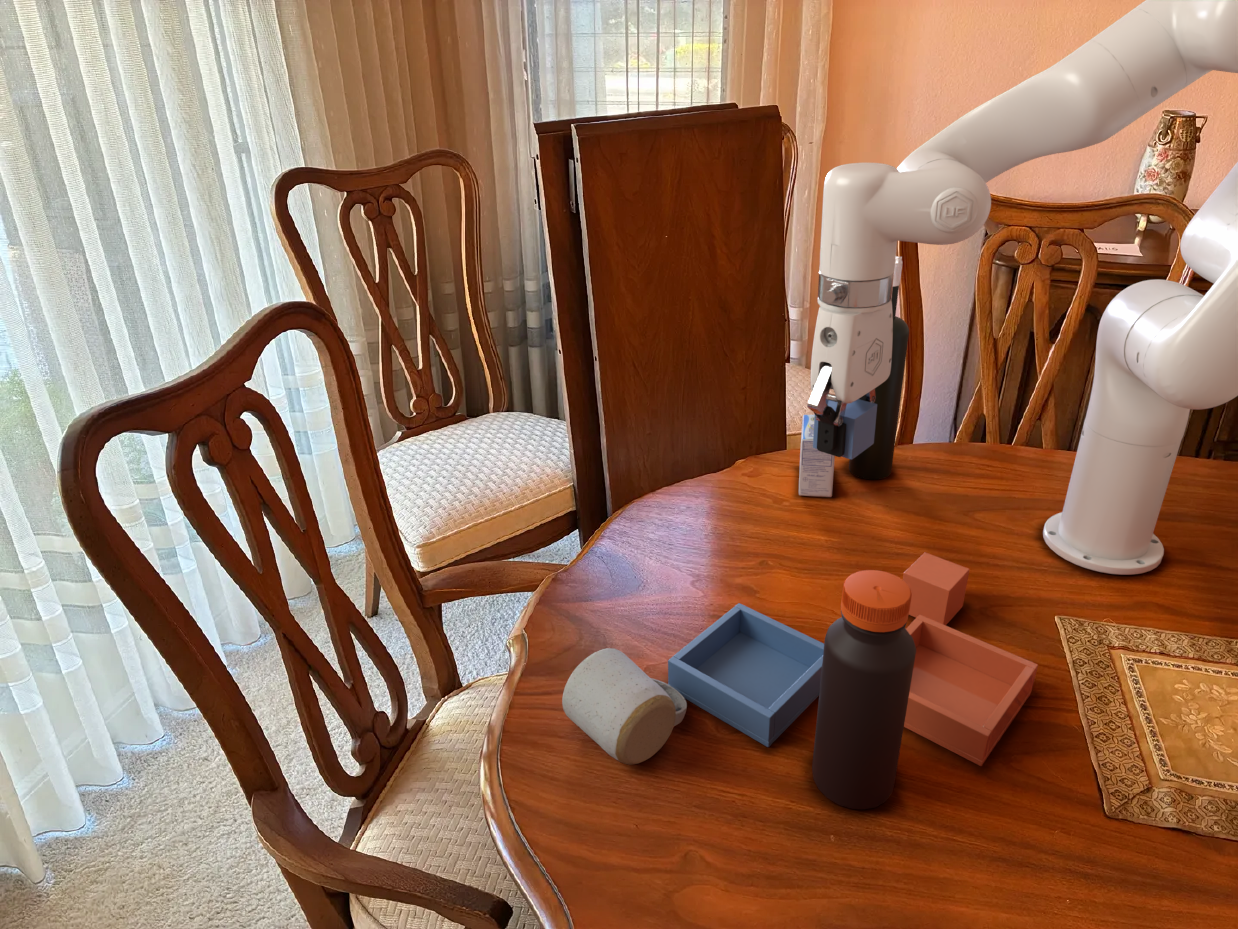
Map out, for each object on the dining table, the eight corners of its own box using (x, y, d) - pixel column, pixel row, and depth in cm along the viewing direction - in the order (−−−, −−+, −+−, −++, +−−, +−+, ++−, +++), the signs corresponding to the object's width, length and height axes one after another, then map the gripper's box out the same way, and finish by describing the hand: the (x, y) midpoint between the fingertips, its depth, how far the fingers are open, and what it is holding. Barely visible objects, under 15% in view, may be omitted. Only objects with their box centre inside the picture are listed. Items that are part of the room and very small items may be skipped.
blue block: (835, 432, 101) (837, 393, 99) (873, 443, 98) (877, 403, 96) (812, 447, 98) (814, 408, 96) (851, 460, 95) (854, 419, 93)
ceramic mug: (620, 787, 73) (618, 719, 69) (562, 733, 79) (557, 668, 75) (707, 725, 79) (709, 661, 75) (647, 680, 85) (647, 618, 81)
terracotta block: (918, 589, 96) (924, 551, 93) (962, 606, 93) (969, 568, 90) (898, 610, 93) (903, 572, 90) (942, 629, 90) (949, 590, 87)
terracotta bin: (914, 642, 88) (919, 614, 86) (1031, 693, 81) (1038, 664, 79) (858, 704, 81) (862, 674, 79) (981, 767, 74) (988, 736, 72)
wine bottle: (899, 476, 118) (927, 260, 104) (860, 482, 117) (884, 265, 103) (878, 458, 123) (903, 249, 109) (841, 463, 122) (861, 254, 108)
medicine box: (831, 499, 114) (837, 440, 110) (797, 496, 115) (801, 438, 110) (831, 470, 120) (835, 414, 116) (798, 468, 121) (802, 413, 117)
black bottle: (910, 797, 71) (945, 603, 62) (840, 823, 69) (865, 626, 60) (862, 739, 77) (887, 554, 67) (796, 762, 75) (812, 574, 65)
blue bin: (737, 629, 91) (738, 602, 89) (835, 679, 84) (838, 650, 82) (667, 688, 83) (667, 660, 82) (768, 747, 76) (770, 718, 75)
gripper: (845, 317, 82) (833, 482, 90) (926, 274, 93) (909, 426, 101) (778, 304, 87) (773, 462, 95) (863, 264, 97) (852, 410, 106)
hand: (843, 442), depth 98 cm, fingers closed on blue block, 5 cm apart
